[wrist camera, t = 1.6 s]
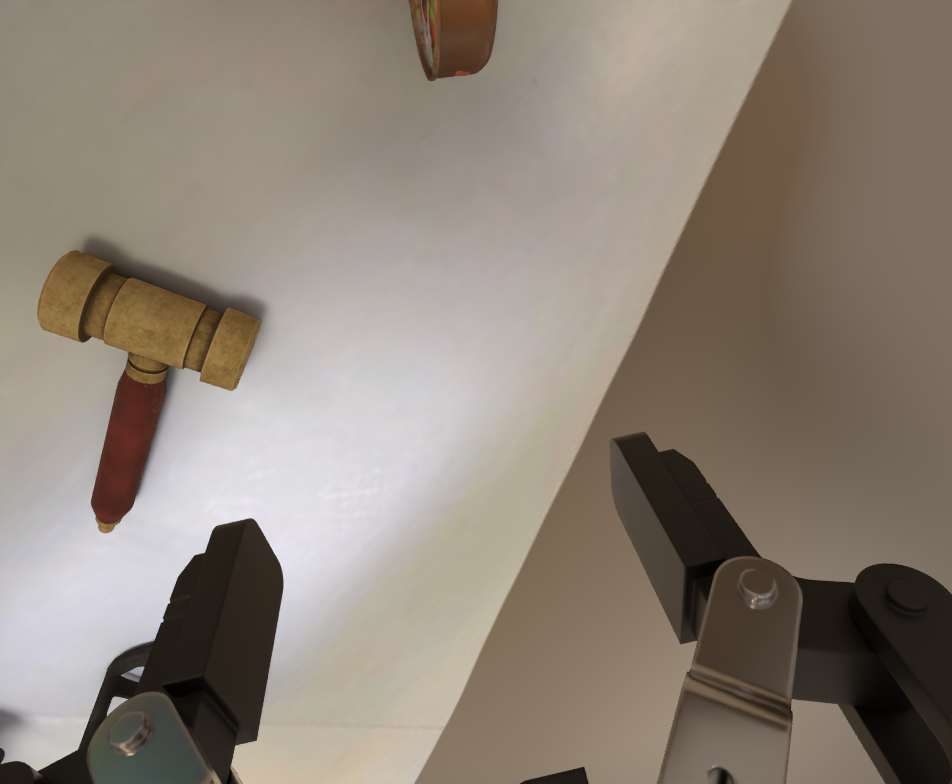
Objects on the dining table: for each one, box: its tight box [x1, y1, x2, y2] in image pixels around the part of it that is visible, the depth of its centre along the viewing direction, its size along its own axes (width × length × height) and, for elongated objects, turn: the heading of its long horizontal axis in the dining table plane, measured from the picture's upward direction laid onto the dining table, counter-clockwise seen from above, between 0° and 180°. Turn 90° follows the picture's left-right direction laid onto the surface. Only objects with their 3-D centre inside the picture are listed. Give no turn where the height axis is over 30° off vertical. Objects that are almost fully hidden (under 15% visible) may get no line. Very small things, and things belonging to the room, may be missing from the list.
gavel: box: [38, 250, 261, 533], centre depth 36 cm, size 21×5×10 cm
